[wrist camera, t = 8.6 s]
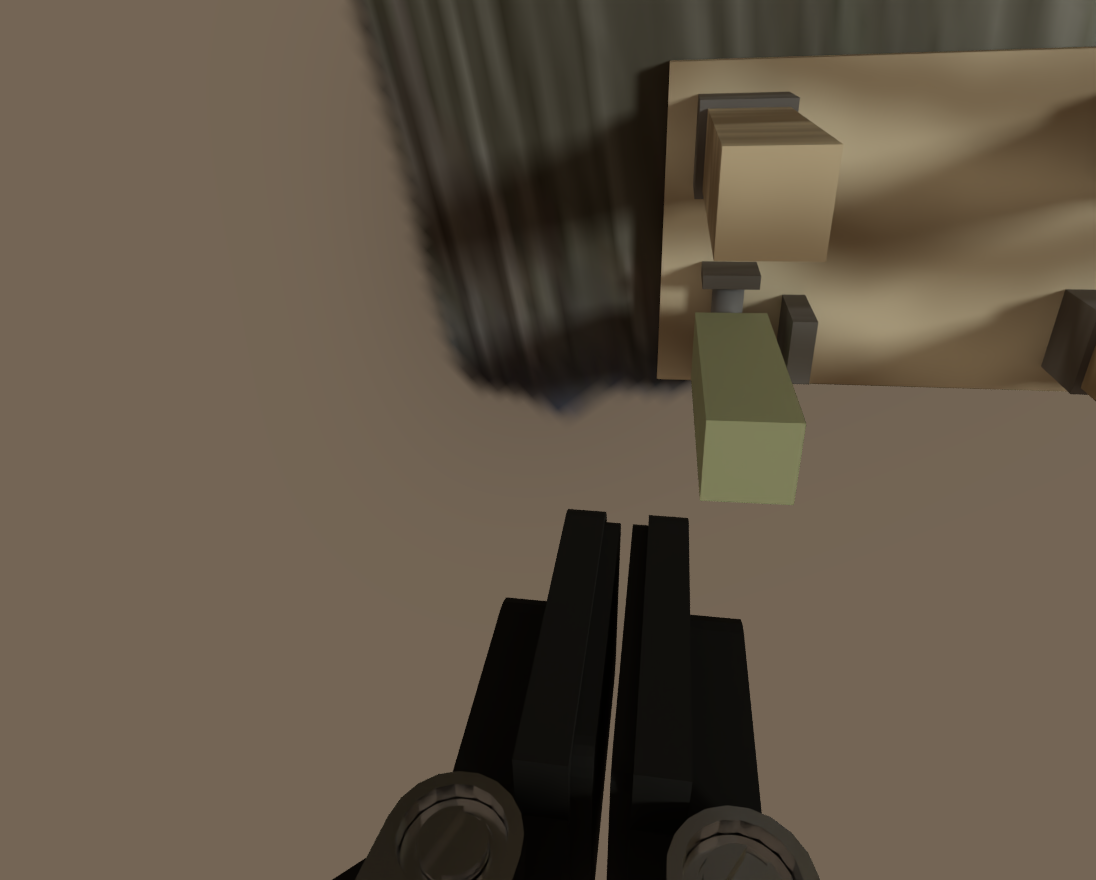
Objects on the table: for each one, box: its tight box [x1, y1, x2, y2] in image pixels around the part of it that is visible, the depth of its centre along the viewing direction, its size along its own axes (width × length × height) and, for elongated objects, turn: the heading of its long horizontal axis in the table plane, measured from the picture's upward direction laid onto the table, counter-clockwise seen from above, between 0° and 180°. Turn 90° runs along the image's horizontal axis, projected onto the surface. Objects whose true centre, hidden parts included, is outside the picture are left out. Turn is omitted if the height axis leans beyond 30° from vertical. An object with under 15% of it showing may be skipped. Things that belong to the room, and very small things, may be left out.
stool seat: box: [657, 47, 1096, 401], centre depth 26 cm, size 14×22×14 cm, turn 92°
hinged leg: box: [691, 289, 806, 505], centre depth 29 cm, size 4×3×13 cm
